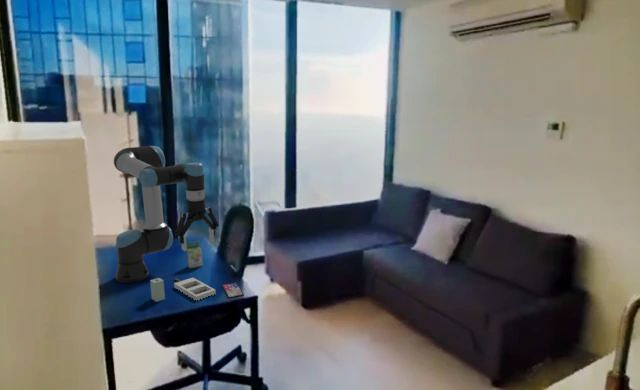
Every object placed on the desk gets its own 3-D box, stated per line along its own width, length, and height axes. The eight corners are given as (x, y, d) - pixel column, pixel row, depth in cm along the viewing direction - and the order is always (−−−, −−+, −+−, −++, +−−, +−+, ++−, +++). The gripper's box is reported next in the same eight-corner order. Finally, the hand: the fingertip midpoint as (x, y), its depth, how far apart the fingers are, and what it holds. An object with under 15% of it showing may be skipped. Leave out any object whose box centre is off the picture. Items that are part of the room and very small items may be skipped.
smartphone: (228, 297, 205) (221, 284, 218) (228, 299, 205) (221, 286, 218) (244, 294, 207) (236, 281, 221) (244, 296, 208) (237, 283, 221)
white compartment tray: (165, 282, 221) (165, 278, 221) (184, 276, 228) (184, 272, 228) (196, 301, 202) (196, 296, 201) (215, 294, 209) (215, 289, 208)
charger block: (151, 298, 204) (150, 280, 202) (160, 296, 207) (159, 277, 204) (156, 301, 201) (154, 282, 199) (164, 299, 204) (163, 280, 202)
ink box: (189, 268, 238) (188, 244, 235) (187, 266, 242) (186, 242, 239) (202, 266, 242) (201, 242, 239) (200, 264, 245) (199, 240, 242)
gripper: (173, 205, 181) (176, 255, 186) (225, 195, 199) (227, 241, 203) (164, 202, 186) (167, 251, 191) (215, 193, 204) (217, 238, 208)
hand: (198, 246), depth 197 cm, fingers open, 13 cm apart
